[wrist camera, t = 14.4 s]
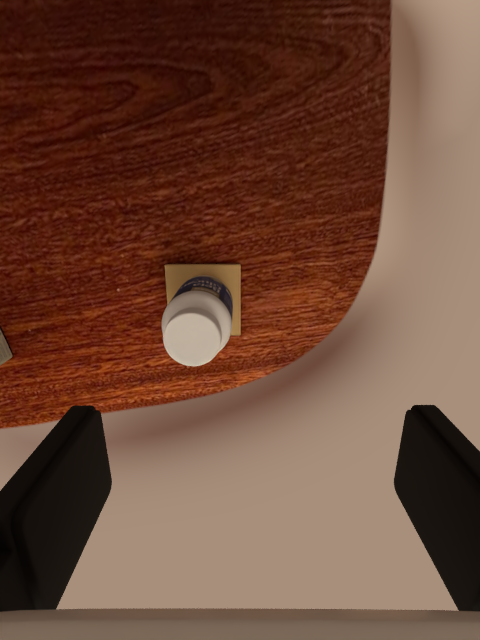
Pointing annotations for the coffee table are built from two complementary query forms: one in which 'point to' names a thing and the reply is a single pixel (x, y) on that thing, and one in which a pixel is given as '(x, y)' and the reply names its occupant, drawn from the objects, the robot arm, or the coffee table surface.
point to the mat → (223, 272)
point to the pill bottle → (198, 320)
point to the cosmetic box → (4, 350)
